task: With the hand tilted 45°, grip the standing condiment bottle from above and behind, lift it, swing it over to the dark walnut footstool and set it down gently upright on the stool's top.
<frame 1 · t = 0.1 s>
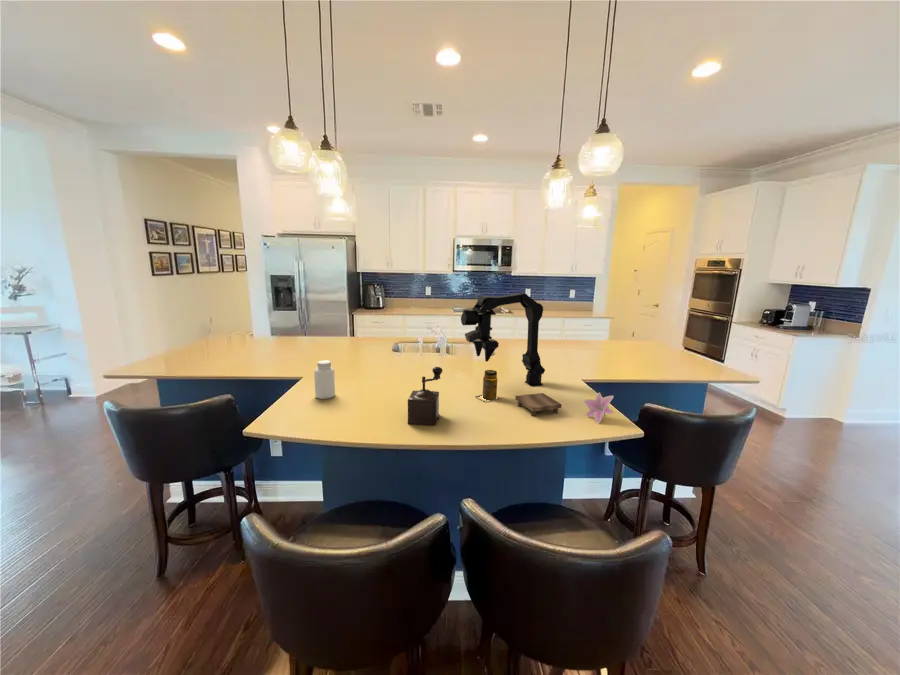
hand: (482, 358, 167), 15 cm above the countertop, tool pointing down, fingers open, 9 cm apart
condiment: (487, 398, 160), on the countertop
lily: (597, 418, 142), on the countertop
stool: (537, 409, 149), on the countertop
manual coffee grinder: (425, 417, 139), on the countertop
pill bottle: (325, 396, 157), on the countertop
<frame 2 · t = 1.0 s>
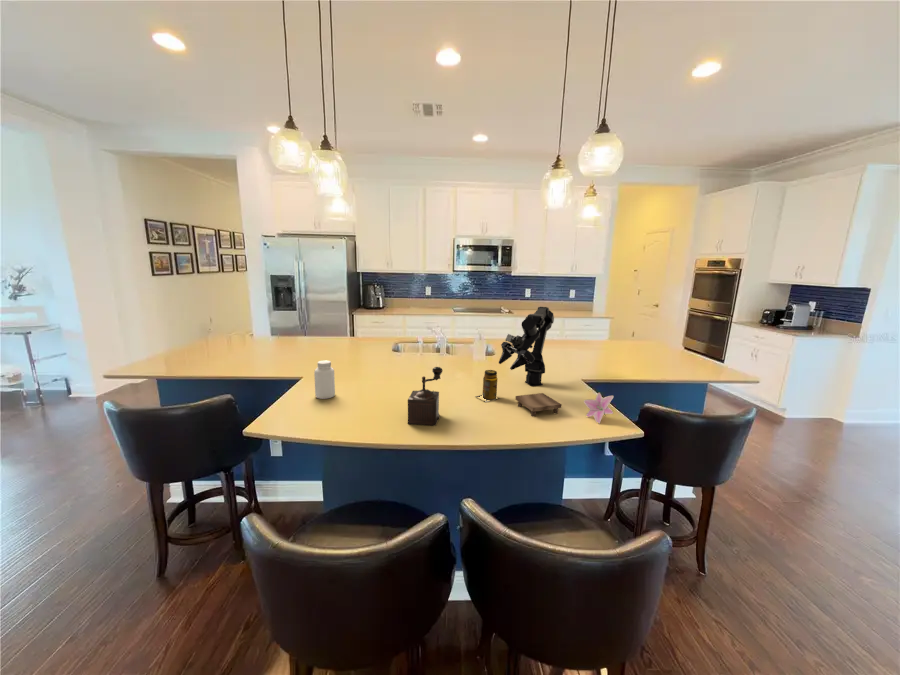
hand: (504, 366, 161), 13 cm above the countertop, tool tilted 45°, fingers open, 9 cm apart
nothing on the countertop moved.
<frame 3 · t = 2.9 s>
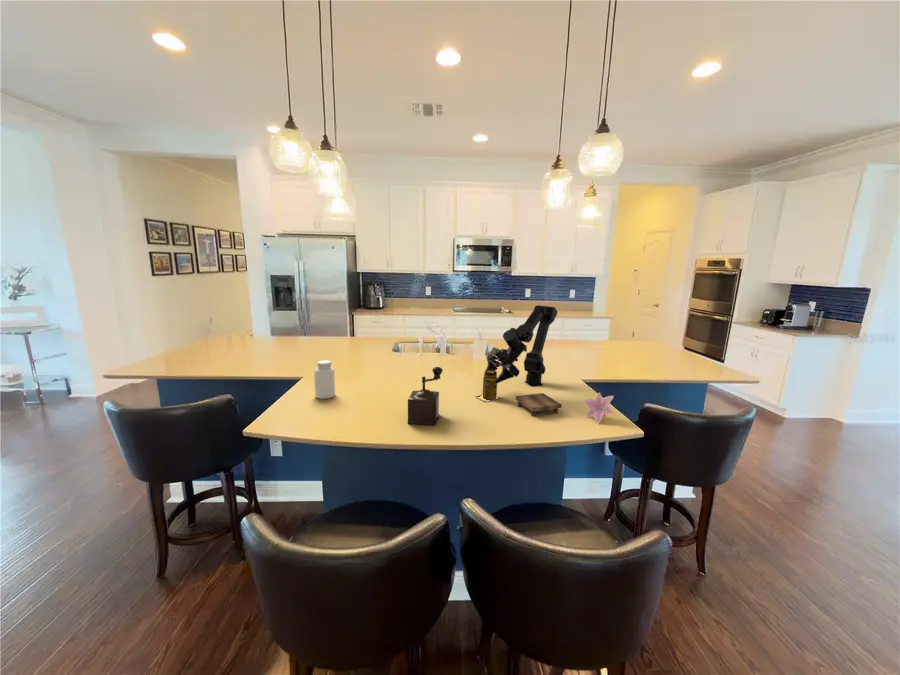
hand: (489, 379, 158), 8 cm above the countertop, tool tilted 45°, fingers open, 9 cm apart
nothing on the countertop moved.
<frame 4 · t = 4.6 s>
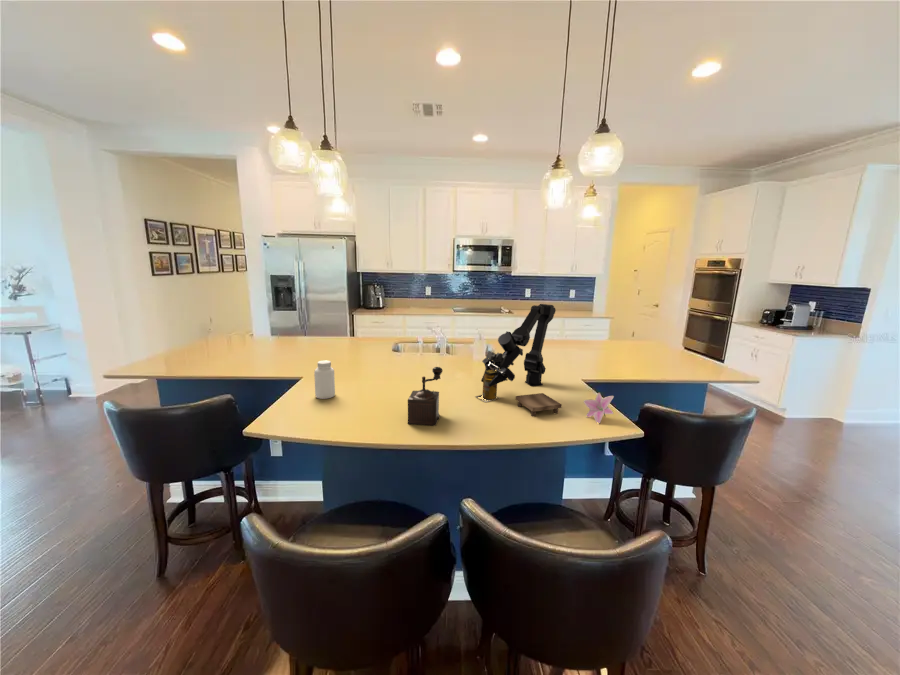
hand: (485, 383, 158), 7 cm above the countertop, tool tilted 45°, fingers closed on condiment, 6 cm apart
condiment: (487, 398, 160), on the countertop, touching gripper
everything else where it was.
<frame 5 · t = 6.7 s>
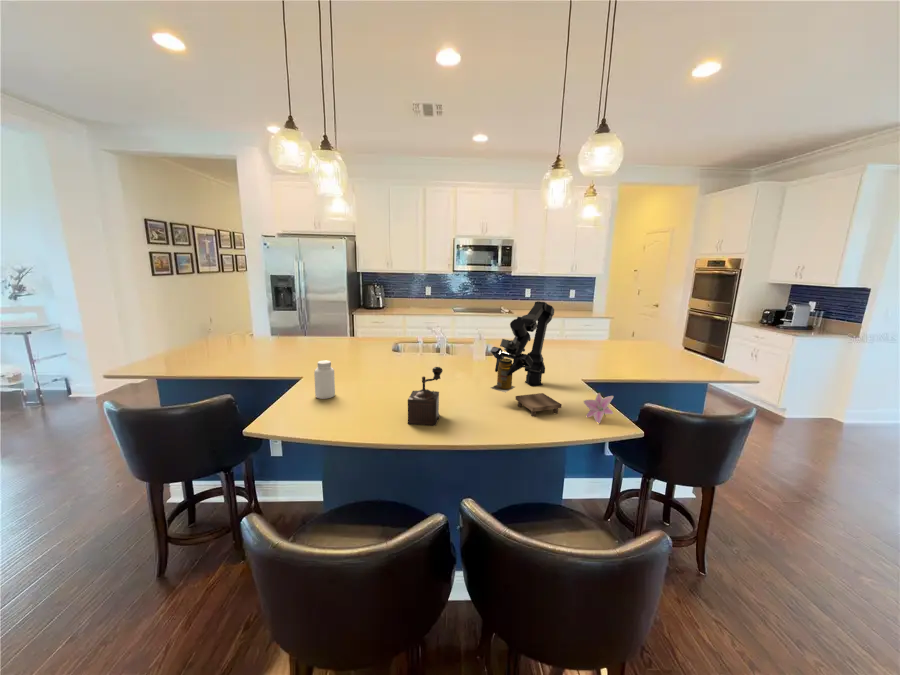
hand: (501, 373, 151), 13 cm above the countertop, tool tilted 45°, fingers closed on condiment, 6 cm apart
condiment: (502, 388, 154), point 6 cm above the countertop, touching gripper
everything else where it was.
when the fingers open (12 cm above the countertop, at t = 9.2 s): condiment drops 1 cm, resting on stool.
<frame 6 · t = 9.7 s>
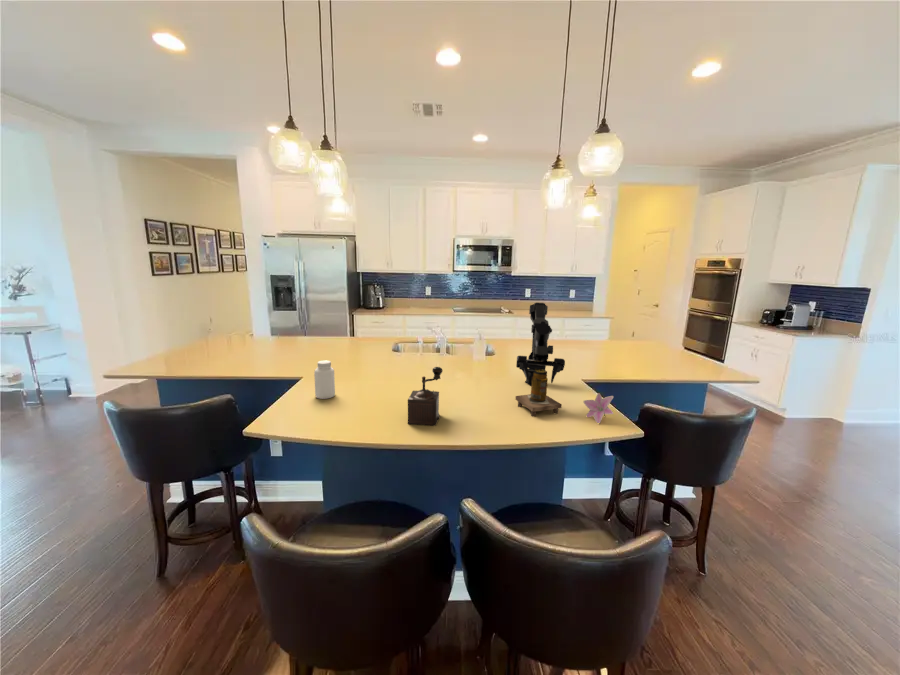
hand: (539, 381, 145), 12 cm above the countertop, tool tilted 45°, fingers open, 9 cm apart
condiment: (538, 400, 148), point 4 cm above the countertop, touching stool
everything else where it was.
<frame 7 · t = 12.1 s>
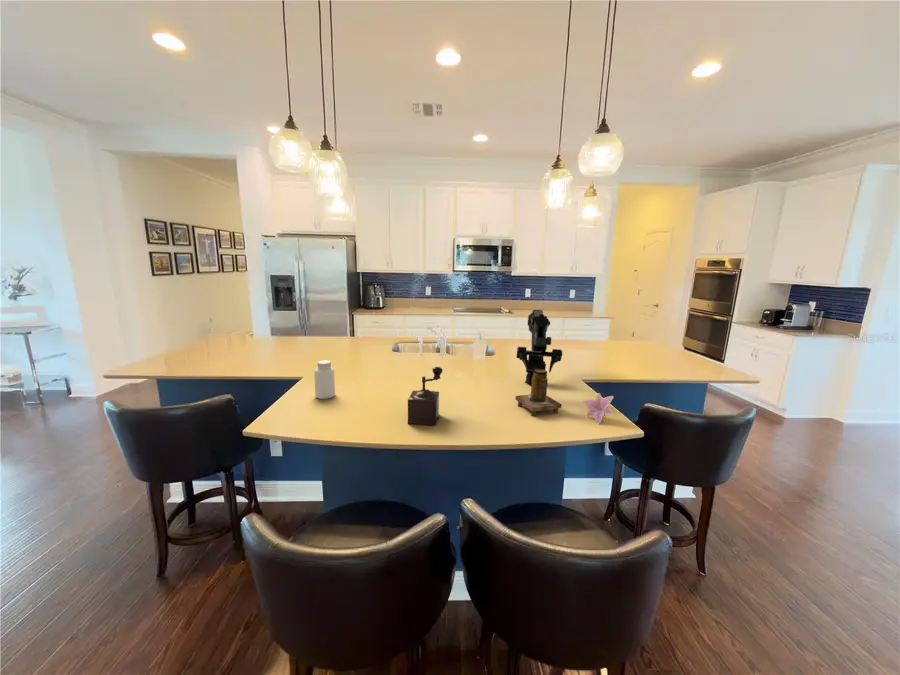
hand: (538, 371, 154), 14 cm above the countertop, tool tilted 45°, fingers open, 9 cm apart
nothing on the countertop moved.
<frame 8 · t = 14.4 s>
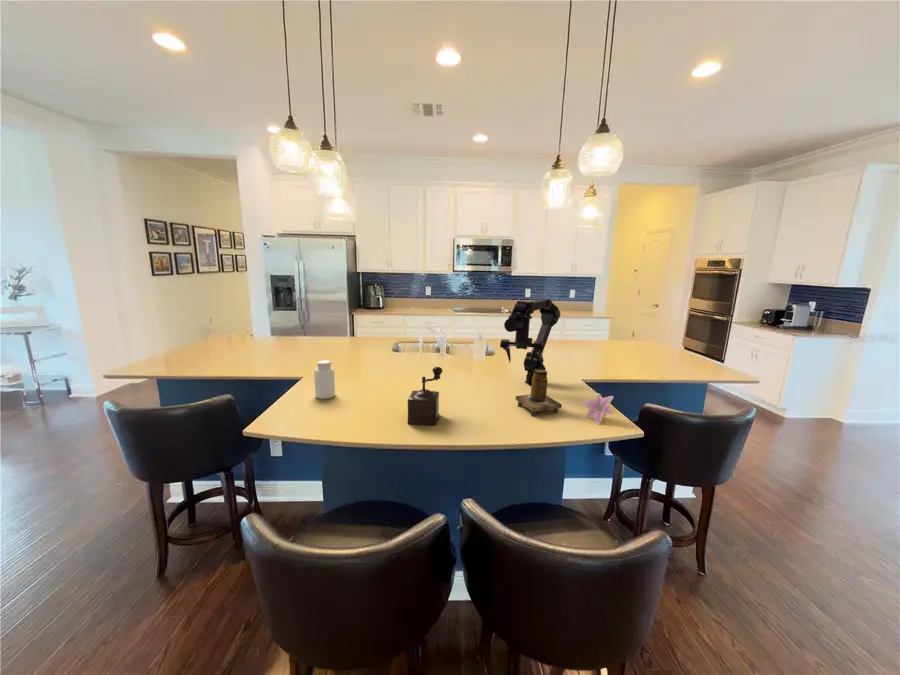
hand: (520, 363, 168), 13 cm above the countertop, tool pointing down, fingers open, 9 cm apart
nothing on the countertop moved.
at the end: condiment inside the target area on the stool (0.1 cm from its centre), point 3.8 cm above the stool's base; condiment tilted 0°; the gripper is holding nothing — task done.
